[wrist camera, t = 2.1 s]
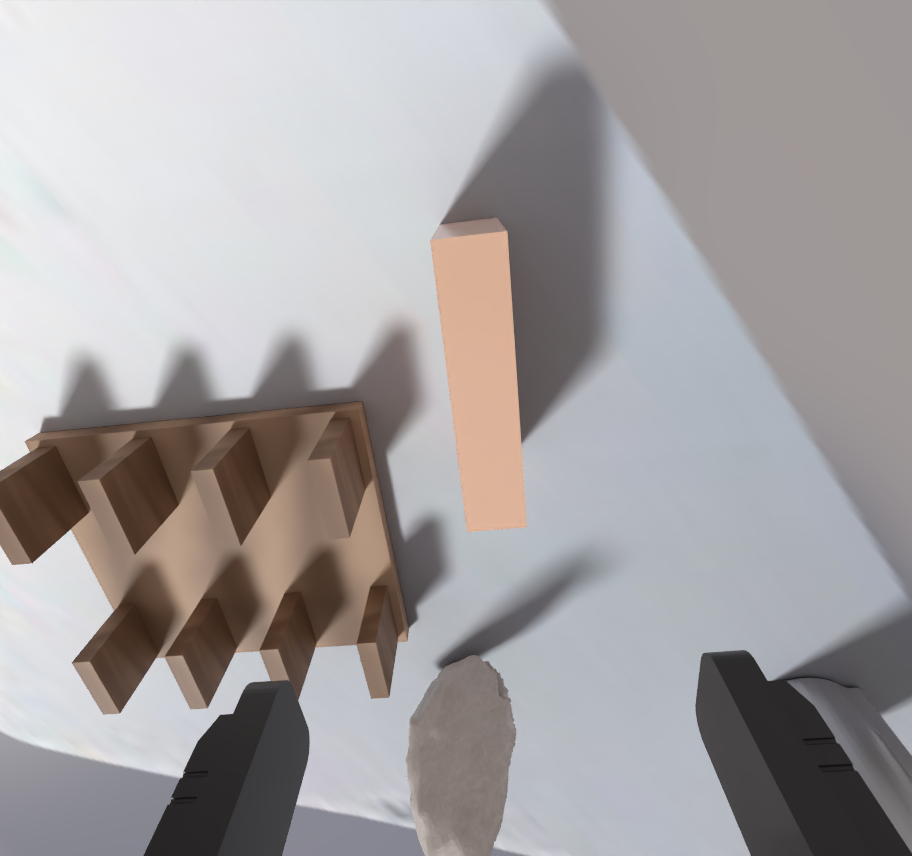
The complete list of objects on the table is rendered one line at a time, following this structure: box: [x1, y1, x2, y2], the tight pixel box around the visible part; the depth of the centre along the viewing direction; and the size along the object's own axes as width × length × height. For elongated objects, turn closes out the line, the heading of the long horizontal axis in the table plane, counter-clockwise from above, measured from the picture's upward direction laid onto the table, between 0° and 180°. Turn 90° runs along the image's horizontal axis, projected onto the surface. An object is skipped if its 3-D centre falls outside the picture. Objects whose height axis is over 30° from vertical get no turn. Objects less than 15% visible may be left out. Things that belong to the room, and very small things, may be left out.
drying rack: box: [0, 401, 409, 714], centre depth 34 cm, size 21×19×6 cm
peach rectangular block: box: [430, 218, 527, 532], centre depth 27 cm, size 3×14×8 cm, turn 7°
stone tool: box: [406, 655, 516, 856], centre depth 35 cm, size 9×3×15 cm, turn 135°
